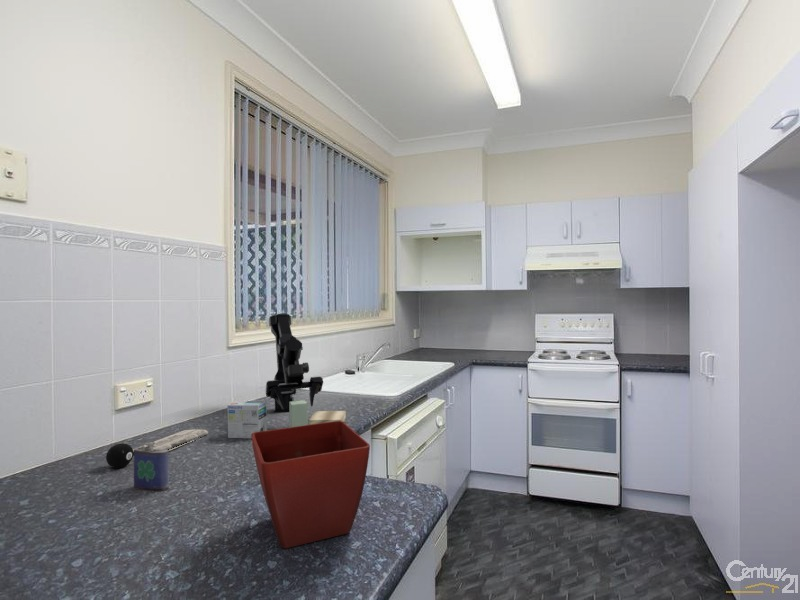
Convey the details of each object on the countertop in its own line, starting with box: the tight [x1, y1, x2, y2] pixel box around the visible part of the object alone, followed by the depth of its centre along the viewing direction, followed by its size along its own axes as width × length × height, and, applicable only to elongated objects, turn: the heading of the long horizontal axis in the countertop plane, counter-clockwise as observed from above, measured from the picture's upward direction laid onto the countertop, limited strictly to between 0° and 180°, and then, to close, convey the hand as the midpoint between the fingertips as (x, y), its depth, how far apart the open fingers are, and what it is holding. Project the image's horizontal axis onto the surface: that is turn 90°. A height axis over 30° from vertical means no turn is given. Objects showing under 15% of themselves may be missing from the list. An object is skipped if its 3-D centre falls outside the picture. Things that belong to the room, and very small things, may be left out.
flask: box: [133, 441, 170, 492], centre depth 104 cm, size 9×3×11 cm, turn 74°
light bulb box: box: [226, 400, 268, 439], centre depth 144 cm, size 11×7×11 cm, turn 84°
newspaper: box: [132, 428, 209, 453], centre depth 137 cm, size 23×12×2 cm, turn 161°
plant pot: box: [251, 421, 371, 549], centre depth 85 cm, size 19×19×17 cm
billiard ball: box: [105, 443, 134, 469], centre depth 118 cm, size 6×6×6 cm
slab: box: [308, 410, 347, 425], centre depth 156 cm, size 11×12×3 cm
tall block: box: [289, 399, 309, 427], centre depth 146 cm, size 5×5×10 cm
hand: (298, 407), depth 147 cm, fingers open, 9 cm apart
